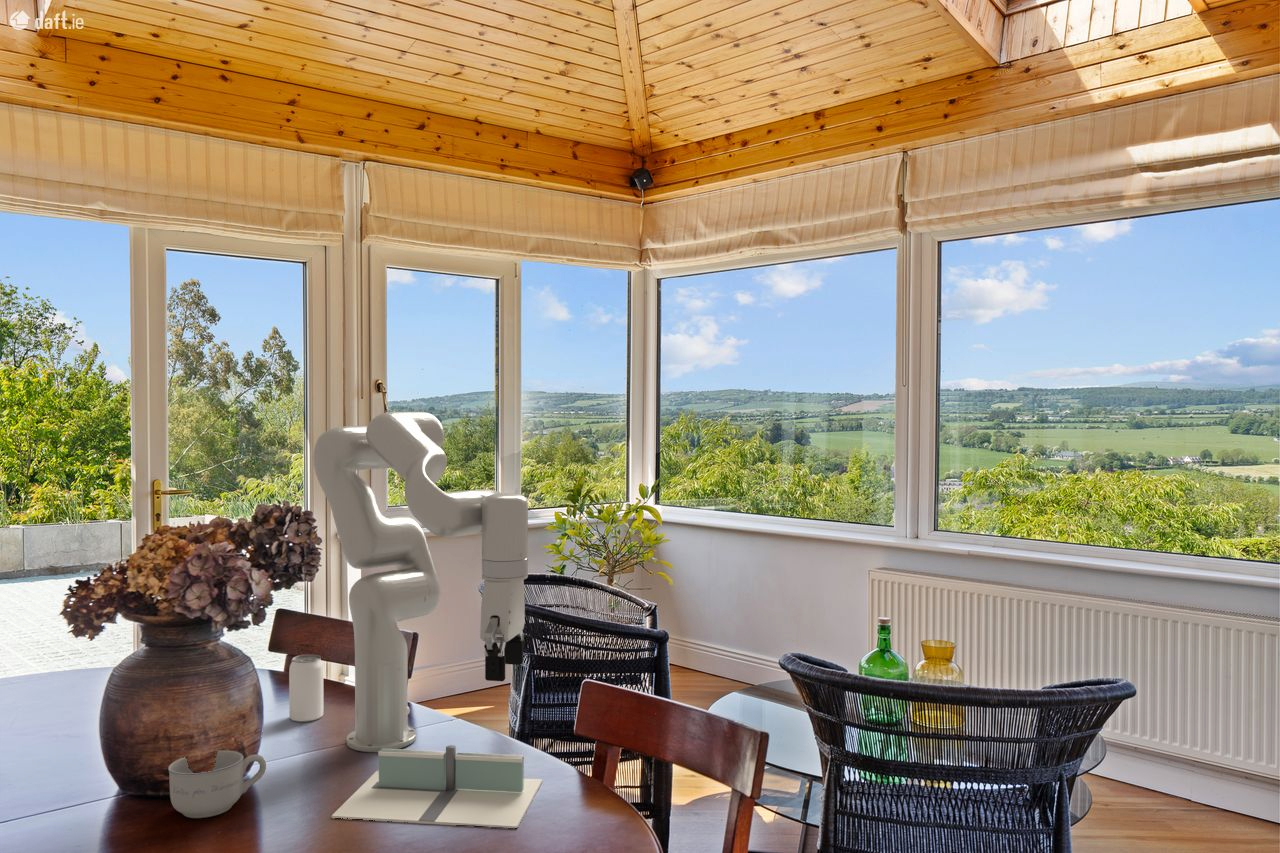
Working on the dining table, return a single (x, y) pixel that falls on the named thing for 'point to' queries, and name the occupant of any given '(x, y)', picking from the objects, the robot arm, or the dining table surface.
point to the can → (306, 688)
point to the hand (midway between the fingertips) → (504, 671)
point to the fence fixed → (418, 768)
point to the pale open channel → (489, 772)
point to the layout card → (439, 805)
